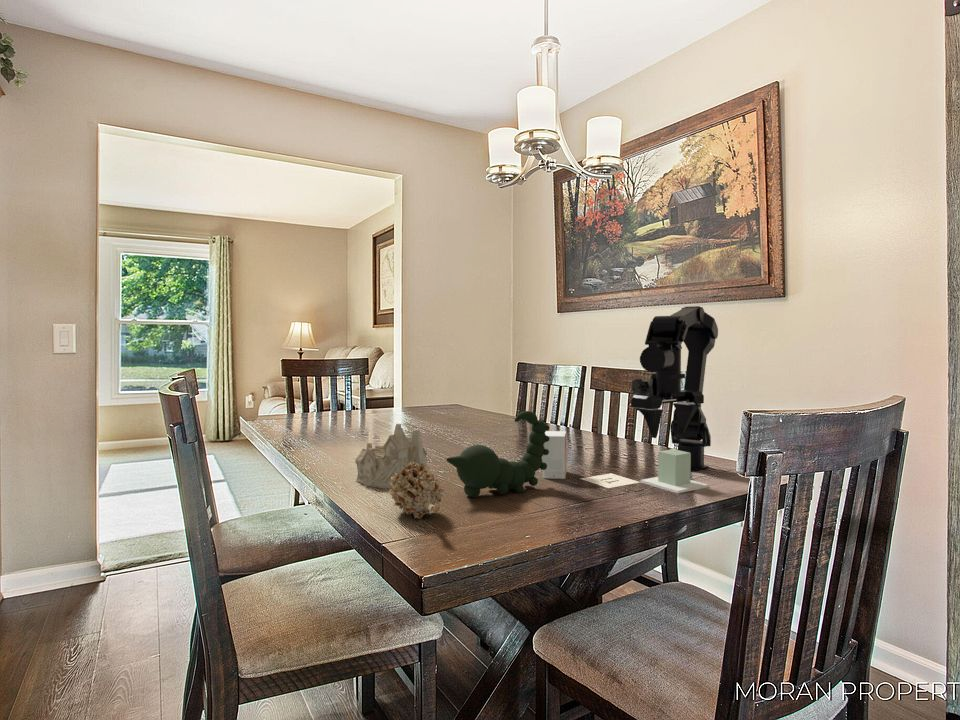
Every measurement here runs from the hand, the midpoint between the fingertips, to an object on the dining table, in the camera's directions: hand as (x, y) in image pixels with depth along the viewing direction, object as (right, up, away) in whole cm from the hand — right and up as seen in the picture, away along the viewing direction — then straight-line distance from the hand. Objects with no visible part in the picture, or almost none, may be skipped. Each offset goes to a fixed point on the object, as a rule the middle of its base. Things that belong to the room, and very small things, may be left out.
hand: (667, 435), depth 133 cm
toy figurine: (-40, -12, -7) cm, 42 cm away
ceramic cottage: (-65, -12, +5) cm, 66 cm away
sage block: (+1, -11, -2) cm, 11 cm away
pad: (+1, -11, -2) cm, 11 cm away
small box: (-26, -11, +8) cm, 29 cm away
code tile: (-13, -11, +2) cm, 17 cm away
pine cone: (-55, -13, -25) cm, 62 cm away
